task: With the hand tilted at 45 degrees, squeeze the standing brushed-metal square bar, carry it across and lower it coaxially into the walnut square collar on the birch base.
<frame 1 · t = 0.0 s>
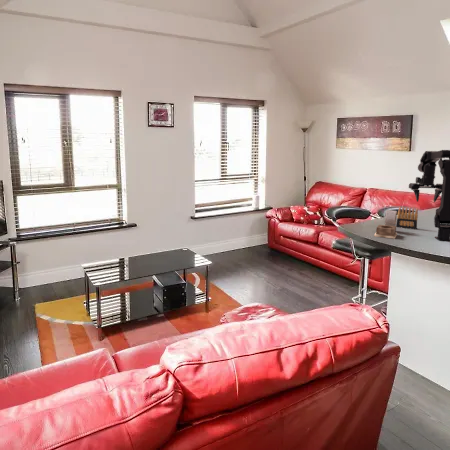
hand: (425, 201, 241), 15 cm above the table, tool pointing down, fingers open, 9 cm apart
socket block: (385, 235, 223), on the table
metal bar: (389, 231, 233), on the table
ammunition clip: (406, 228, 242), on the table
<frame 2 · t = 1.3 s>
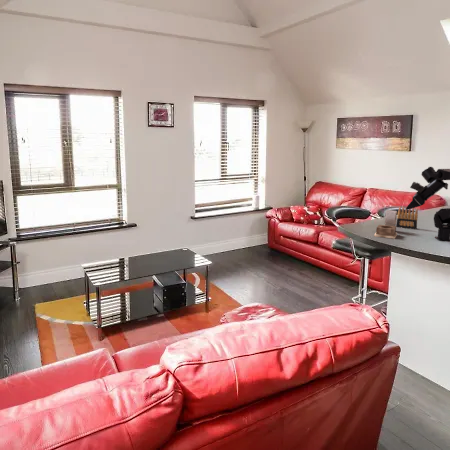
hand: (407, 207, 227), 13 cm above the table, tool tilted 45°, fingers open, 9 cm apart
nothing on the table moved.
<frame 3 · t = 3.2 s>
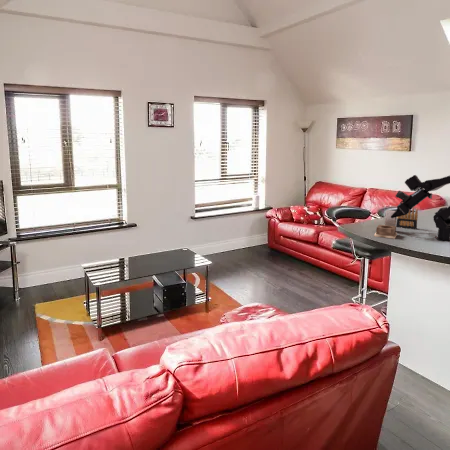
hand: (392, 216, 231), 8 cm above the table, tool tilted 45°, fingers open, 9 cm apart
nothing on the table moved.
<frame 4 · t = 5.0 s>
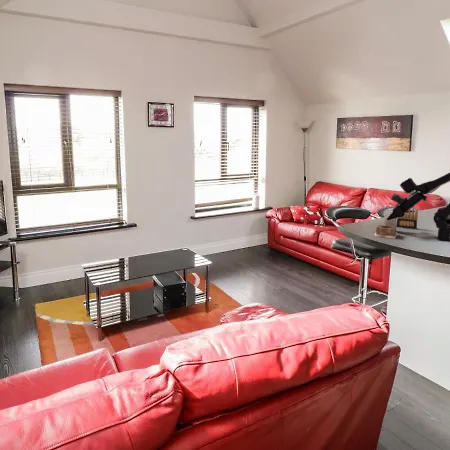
hand: (387, 218, 233), 7 cm above the table, tool tilted 45°, fingers closed on metal bar, 5 cm apart
metal bar: (389, 231, 233), on the table, touching gripper
everything else where it was.
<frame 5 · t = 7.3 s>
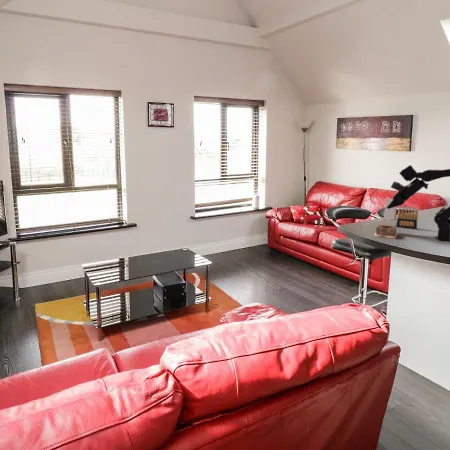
hand: (388, 207, 228), 13 cm above the table, tool tilted 45°, fingers closed on metal bar, 5 cm apart
metal bar: (389, 219, 229), point 7 cm above the table, touching gripper
everything else where it was.
when the fingers open (9 cm above the table, at t = 9.8 s): metal bar drops 1 cm, resting on socket block.
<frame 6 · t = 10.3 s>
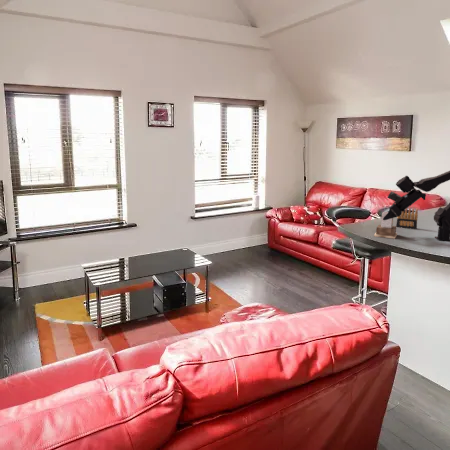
hand: (384, 218, 222), 9 cm above the table, tool tilted 45°, fingers open, 9 cm apart
metal bar: (385, 233, 223), point 1 cm above the table, touching socket block
everything else where it was.
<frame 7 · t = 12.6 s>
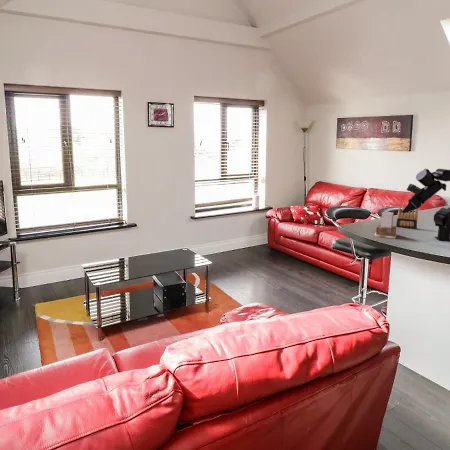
hand: (404, 211, 218), 13 cm above the table, tool tilted 45°, fingers open, 9 cm apart
nothing on the table moved.
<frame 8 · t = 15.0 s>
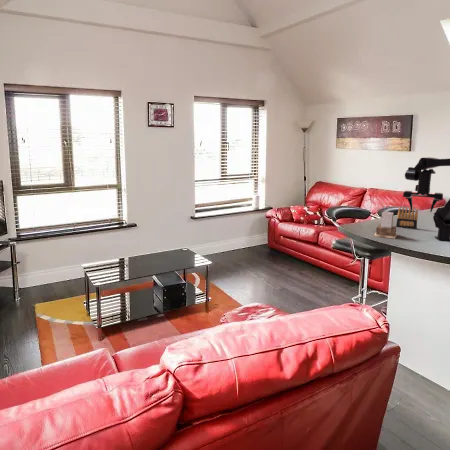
hand: (421, 211, 226), 12 cm above the table, tool pointing down, fingers open, 9 cm apart
nothing on the table moved.
at the end: metal bar 0.0 cm from the socket block (horizontally); metal bar point 1.0 cm above the table; metal bar tilted 0° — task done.
